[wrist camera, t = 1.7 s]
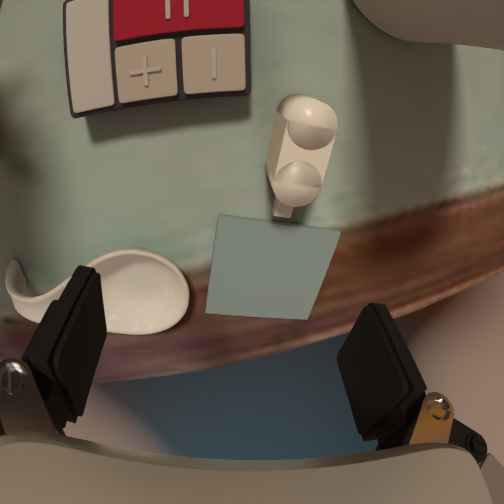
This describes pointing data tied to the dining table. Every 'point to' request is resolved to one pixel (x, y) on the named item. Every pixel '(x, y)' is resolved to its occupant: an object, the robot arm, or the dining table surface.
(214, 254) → the pad
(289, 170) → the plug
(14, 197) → the dining table surface
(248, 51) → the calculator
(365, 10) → the cylinder vase
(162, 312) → the spoon rest
